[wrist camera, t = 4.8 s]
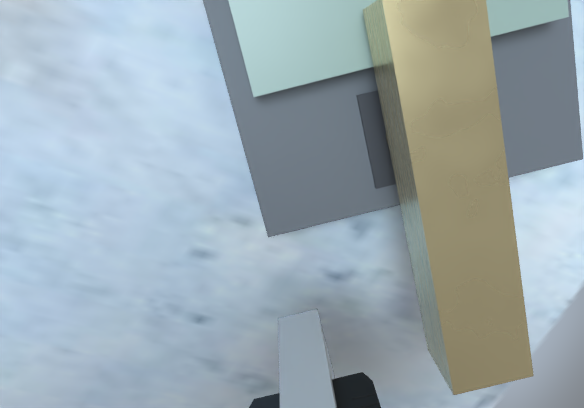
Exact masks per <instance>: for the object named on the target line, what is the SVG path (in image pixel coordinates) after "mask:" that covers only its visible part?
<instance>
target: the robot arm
mask: <svg viewBox="0 0 584 408" xmlns="http://www.w3.org/2000/svg"><path fill="white" fill-rule="evenodd" d="M278 343H279V393H278V394H274V395H270V396H265V397H261V398H257V399H254V400H253V402H252V404H251V405H250V407H249V408H381V406H380V403H379V400H378V397H377V394H376V391H375V388H374V384H373V381H372V380H371V379H370V378H369V377H367V376H366V375H365V374H364V373H363V372H362V373H357V374H353V375H349V376H345V377H341V378H336V379H335V377H334V372H333V368H332V364H331V360H330V356H329V352H328V348H327V345H326V341H325V337H324V333H323V329H322V325H321V321H320V317H319V313H318V309H314V310H310V311H306V312H302V313H298V314H294V315H289V316H285V317H281V318H278Z"/></svg>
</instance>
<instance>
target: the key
mask: <svg viewBox="0 0 584 408" xmlns="http://www.w3.org/2000/svg"><path fill="white" fill-rule="evenodd" d="M363 14H364V19H365V25H366V30H367V35H368V40H369V45H370V51H371V56H372V61H373V66H374V71H375V77H376V82H377V87H378V92H379V97H380V103H381V108H382V113H383V118H384V123H385V129H386V140H387V143H388V146H389V149H390V155H391V160H392V165H393V170H394V175H395V181H396V186H397V191H398V196H399V201H400V207H401V212H402V217H403V222H404V227H405V233H406V238H407V243H408V248H409V254H410V259H411V264H412V269H413V274H414V280H415V285H416V290H417V295H418V300H419V306H420V311H421V316H422V321H423V326H424V332H425V337H426V342H427V347H428V351H429V353H430V354H431V356H432V358H433V360H434V361H435V363H436V365H437V367H438V368H439V370H440V372H441V374H442V375H443V377H444V379H445V381H446V382H447V384H448V386H449V388H450V390H451V391H452V393H453V395H456V394H461V393H465V392H469V391H473V390H477V389H481V388H486V387H490V386H494V385H498V384H502V383H507V382H511V381H515V380H518V379H523V378H527V377H531V376H533V368H532V360H531V352H530V344H529V337H528V329H527V321H526V313H525V305H524V297H523V289H522V281H521V273H520V265H519V257H518V249H517V241H516V233H515V226H514V218H513V210H512V202H511V194H510V186H509V178H508V170H507V162H506V154H505V146H504V138H503V130H502V122H501V115H500V107H499V99H498V91H497V83H496V75H495V67H494V59H493V51H492V43H491V35H490V27H489V19H488V11H487V3H486V0H377V1H375V2H374V3H372V4H371V5H369V6H368V7H366V8H365V9H363Z"/></svg>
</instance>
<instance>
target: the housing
mask: <svg viewBox="0 0 584 408" xmlns="http://www.w3.org/2000/svg"><path fill="white" fill-rule="evenodd" d="M203 2H204V6H205V9H206V13H207V17H208V20H209V24H210V28H211V31H212V35H213V38H214V42H215V46H216V49H217V53H218V57H219V60H220V64H221V67H222V71H223V75H224V78H225V82H226V86H227V89H228V93H229V96H230V100H231V104H232V107H233V111H234V115H235V118H236V122H237V126H238V129H239V133H240V136H241V140H242V144H243V147H244V151H245V155H246V158H247V162H248V165H249V169H250V173H251V176H252V180H253V184H254V187H255V191H256V194H257V198H258V202H259V205H260V209H261V213H262V216H263V220H264V223H265V227H266V231H267V234H268V237H271V236H275V235H279V234H284V233H288V232H292V231H296V230H300V229H304V228H308V227H312V226H316V225H320V224H324V223H328V222H332V221H336V220H340V219H344V218H348V217H352V216H356V215H360V214H364V213H368V212H372V211H376V210H380V209H384V208H388V207H392V206H396V205H400V201H399V196H398V191H397V186H396V181H395V175H394V170H393V165H392V160H391V155H390V149H389V146H388V143H387V140H386V129H385V123H384V118H383V113H382V108H381V103H380V97H379V92H378V87H377V82H376V77H375V71H374V67H370V68H366V69H362V70H359V71H355V72H351V73H347V74H343V75H339V76H335V77H331V78H327V79H323V80H319V81H315V82H312V83H308V84H304V85H300V86H296V87H292V88H288V89H284V90H280V91H276V92H272V93H268V94H264V95H261V96H257V97H253V93H252V89H251V85H250V81H249V77H248V74H247V70H246V66H245V62H244V58H243V55H242V51H241V47H240V43H239V39H238V36H237V32H236V28H235V24H234V20H233V16H232V13H231V9H230V5H229V1H228V0H203ZM568 11H569V17H566V18H562V19H558V20H555V21H551V22H547V23H543V24H539V25H535V26H531V27H527V28H523V29H519V30H515V31H511V32H507V33H504V34H500V35H496V36H492V37H491V43H492V51H493V59H494V67H495V75H496V83H497V91H498V99H499V107H500V115H501V122H502V130H503V138H504V146H505V154H506V162H507V170H508V178H509V177H513V176H517V175H521V174H525V173H529V172H533V171H537V170H541V169H545V168H549V167H553V166H557V165H561V164H565V163H569V162H573V161H577V160H581V159H583V152H582V139H581V127H580V115H579V103H578V90H577V78H576V66H575V54H574V41H573V29H572V17H571V5H570V0H568Z"/></svg>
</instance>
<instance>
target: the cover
mask: <svg viewBox="0 0 584 408" xmlns="http://www.w3.org/2000/svg"><path fill="white" fill-rule="evenodd" d="M228 1H229V5H230V9H231V13H232V16H233V20H234V24H235V28H236V32H237V36H238V39H239V43H240V47H241V51H242V55H243V58H244V62H245V66H246V70H247V74H248V77H249V81H250V85H251V89H252V93H253V97H257V96H261V95H264V94H268V93H272V92H276V91H280V90H284V89H288V88H292V87H296V86H300V85H304V84H308V83H312V82H315V81H319V80H323V79H327V78H331V77H335V76H339V75H343V74H347V73H351V72H355V71H359V70H362V69H366V68H370V67H374V66H373V61H372V56H371V51H370V45H369V40H368V35H367V30H366V25H365V19H364V14H363V9H365V8H366V7H368V6H369V5H371V4H372V3H374V2H375V1H377V0H228ZM486 3H487V11H488V19H489V27H490V35H491V37H492V36H496V35H500V34H504V33H507V32H511V31H515V30H519V29H523V28H527V27H531V26H535V25H539V24H543V23H547V22H551V21H555V20H558V19H562V18H566V17H569V11H568V0H486Z"/></svg>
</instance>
